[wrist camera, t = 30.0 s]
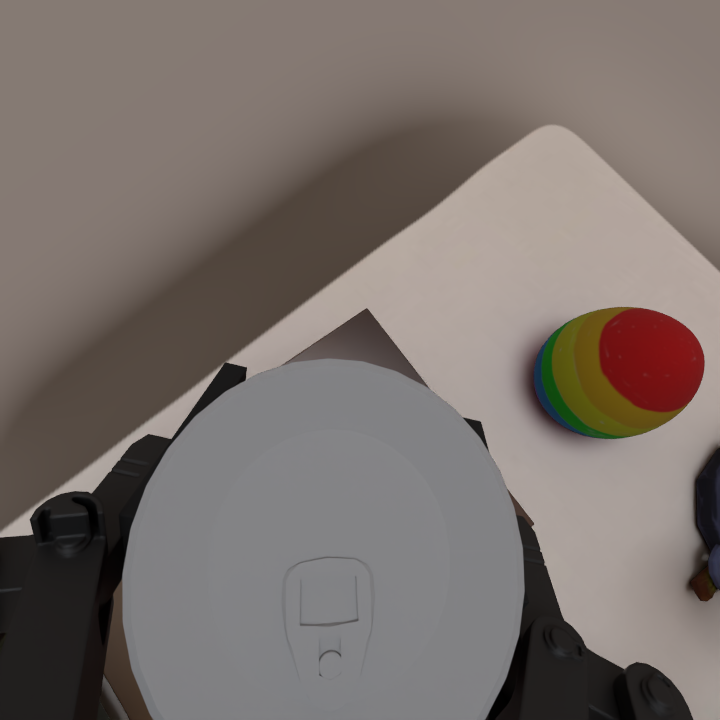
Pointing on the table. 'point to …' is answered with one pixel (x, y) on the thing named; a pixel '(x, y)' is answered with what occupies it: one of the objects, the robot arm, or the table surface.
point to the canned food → (324, 556)
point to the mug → (709, 527)
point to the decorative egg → (618, 372)
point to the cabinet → (369, 355)
